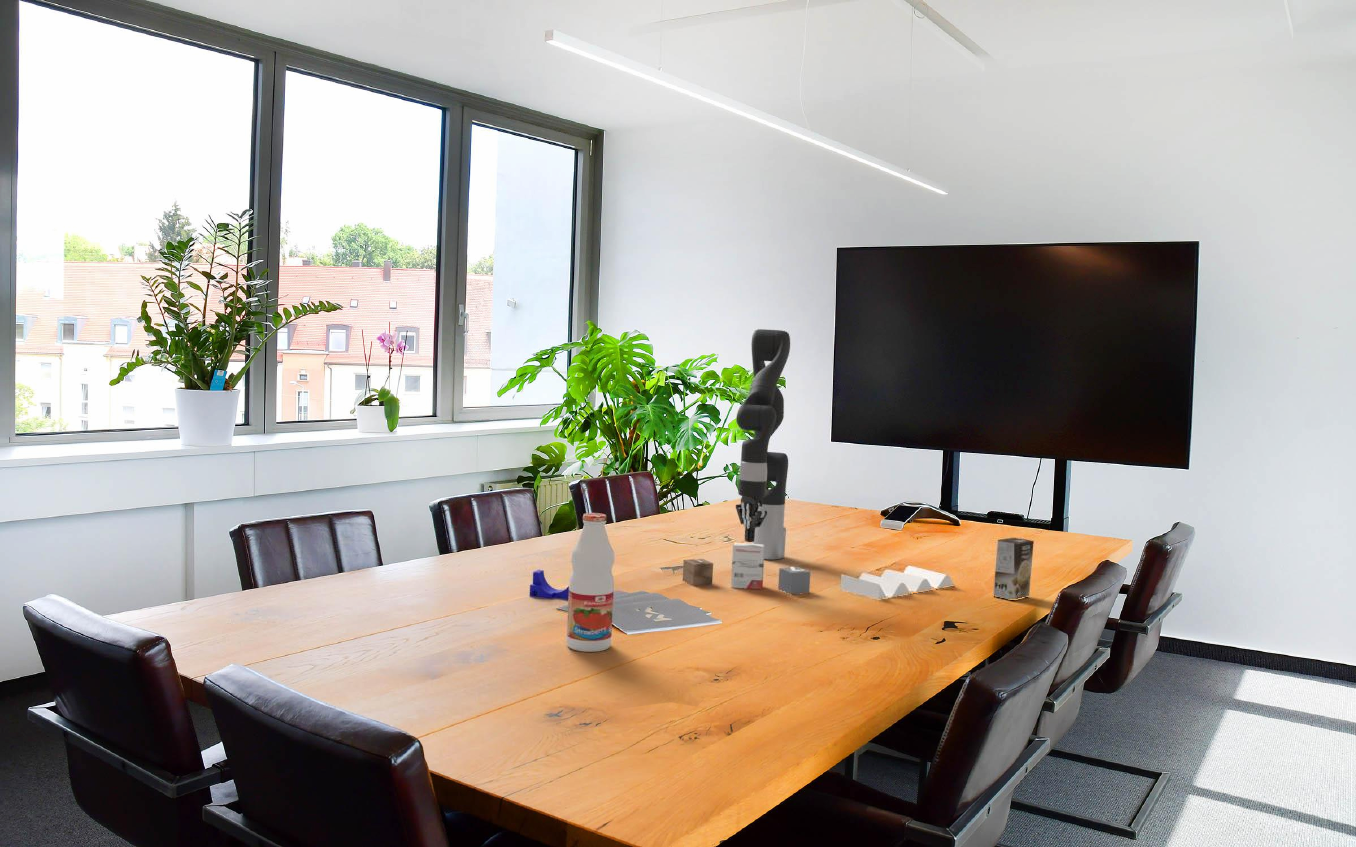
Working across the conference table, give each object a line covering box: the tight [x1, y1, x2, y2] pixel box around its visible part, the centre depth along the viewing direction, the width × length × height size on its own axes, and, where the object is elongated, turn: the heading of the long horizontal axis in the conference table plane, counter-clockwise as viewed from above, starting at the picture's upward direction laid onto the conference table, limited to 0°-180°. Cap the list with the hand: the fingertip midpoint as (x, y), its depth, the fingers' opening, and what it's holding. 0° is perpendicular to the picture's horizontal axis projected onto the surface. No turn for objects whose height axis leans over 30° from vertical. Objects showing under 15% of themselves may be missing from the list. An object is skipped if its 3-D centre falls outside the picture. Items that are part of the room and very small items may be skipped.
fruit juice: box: [566, 512, 615, 653], centre depth 207 cm, size 9×9×28 cm
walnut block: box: [682, 558, 714, 587], centre depth 271 cm, size 6×6×6 cm
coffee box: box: [992, 537, 1035, 599], centre depth 273 cm, size 9×6×16 cm
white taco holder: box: [840, 565, 955, 599], centre depth 278 cm, size 13×35×5 cm, turn 130°
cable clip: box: [529, 569, 569, 600], centre depth 248 cm, size 12×4×6 cm, turn 72°
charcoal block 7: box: [777, 566, 811, 595], centre depth 267 cm, size 6×6×6 cm
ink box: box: [730, 542, 765, 591], centre depth 269 cm, size 9×5×12 cm, turn 84°
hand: (749, 541), depth 269 cm, fingers closed
